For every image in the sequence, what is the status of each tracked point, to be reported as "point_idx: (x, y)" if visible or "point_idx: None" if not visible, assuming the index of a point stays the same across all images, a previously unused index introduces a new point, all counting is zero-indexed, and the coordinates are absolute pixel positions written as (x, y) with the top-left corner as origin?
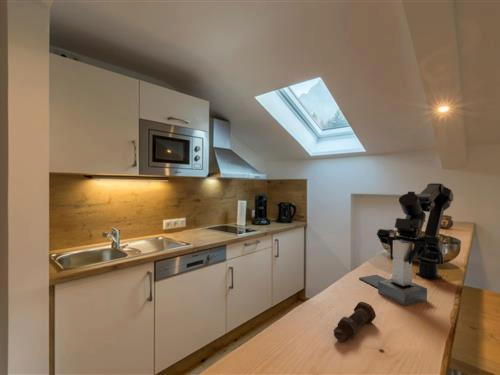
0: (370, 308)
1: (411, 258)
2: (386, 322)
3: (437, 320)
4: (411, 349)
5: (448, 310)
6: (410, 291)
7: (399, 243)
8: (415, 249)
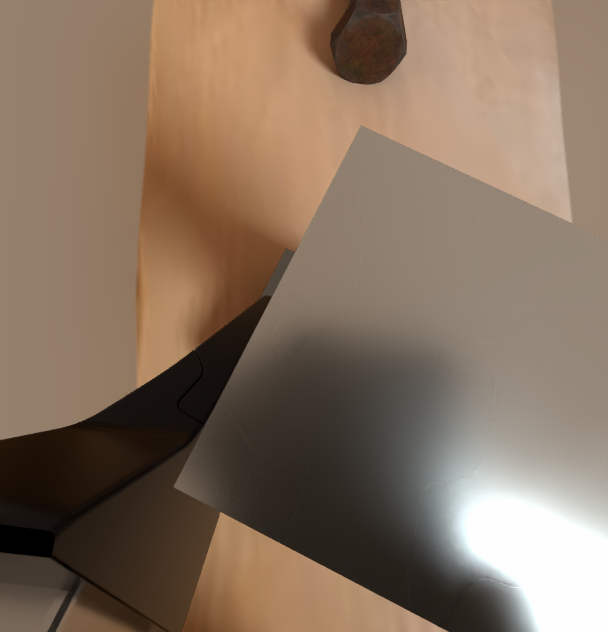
0: (351, 6)
1: (247, 313)
2: (306, 109)
3: (175, 233)
4: (217, 20)
5: (146, 349)
6: (269, 293)
7: (469, 204)
8: (172, 394)
